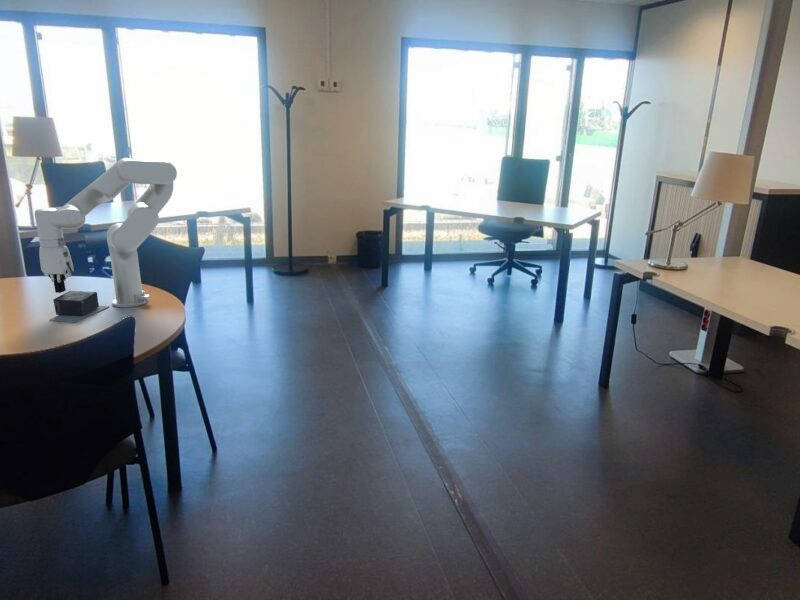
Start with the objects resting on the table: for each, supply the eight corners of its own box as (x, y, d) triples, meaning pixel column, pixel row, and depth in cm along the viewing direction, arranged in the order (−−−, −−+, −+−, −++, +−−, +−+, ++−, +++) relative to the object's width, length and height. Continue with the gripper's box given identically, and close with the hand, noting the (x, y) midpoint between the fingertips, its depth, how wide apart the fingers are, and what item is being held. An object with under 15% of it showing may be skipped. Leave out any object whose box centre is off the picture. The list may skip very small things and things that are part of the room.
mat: (109, 307, 211) (109, 306, 211) (74, 323, 194) (74, 322, 194) (85, 305, 213) (85, 304, 213) (48, 320, 196) (48, 319, 196)
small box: (55, 316, 200) (83, 317, 200) (52, 299, 198) (80, 300, 197) (73, 306, 210) (99, 307, 209) (70, 290, 208) (97, 291, 207)
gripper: (78, 242, 199) (85, 290, 204) (42, 239, 201) (51, 287, 207) (62, 246, 192) (70, 296, 197) (25, 243, 194) (34, 293, 200)
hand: (60, 291), depth 202 cm, fingers closed
